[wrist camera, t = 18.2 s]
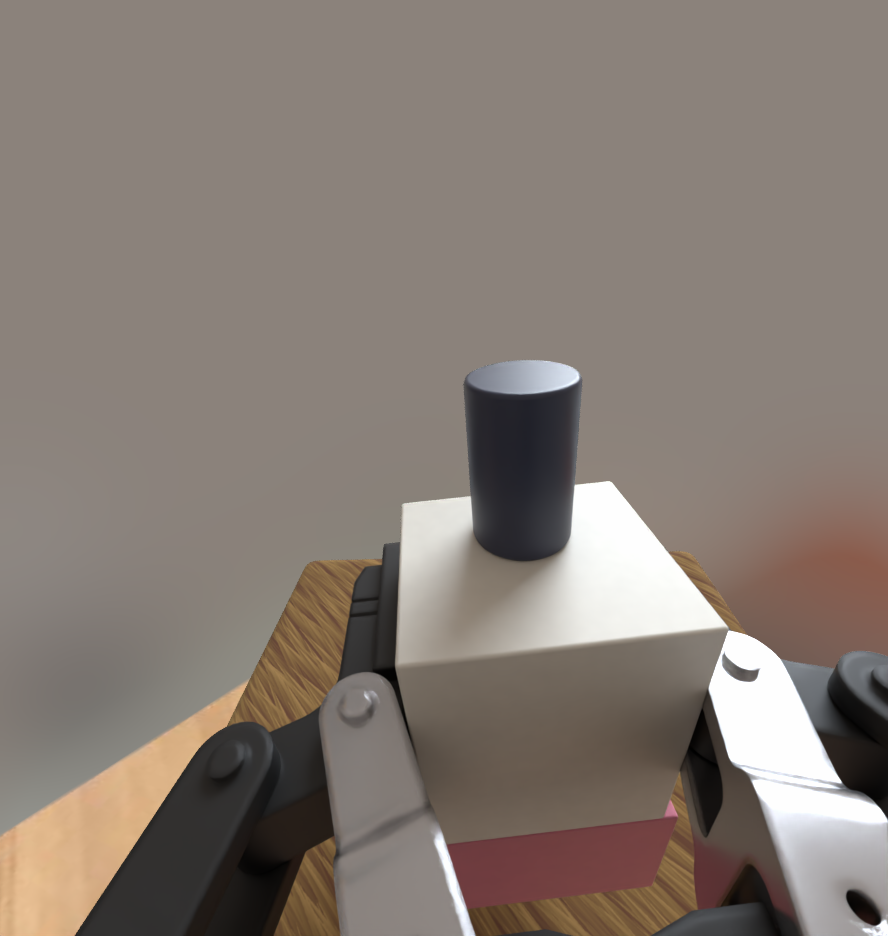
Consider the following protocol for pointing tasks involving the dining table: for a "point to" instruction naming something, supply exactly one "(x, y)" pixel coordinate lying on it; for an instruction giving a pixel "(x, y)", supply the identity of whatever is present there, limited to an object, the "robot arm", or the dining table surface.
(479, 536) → the block stack
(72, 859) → the dining table surface
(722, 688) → the robot arm
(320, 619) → the wood block
